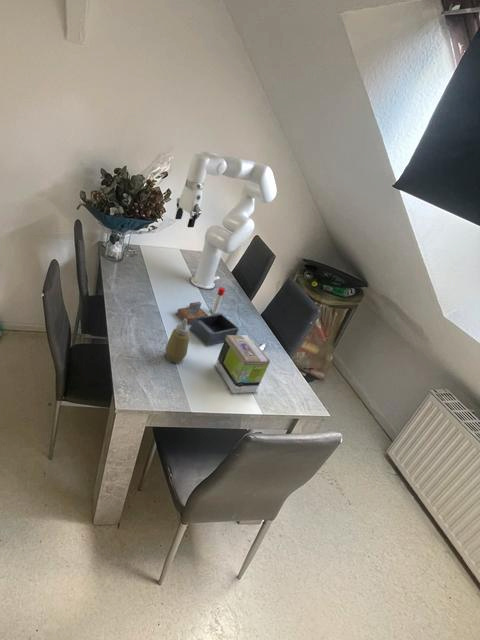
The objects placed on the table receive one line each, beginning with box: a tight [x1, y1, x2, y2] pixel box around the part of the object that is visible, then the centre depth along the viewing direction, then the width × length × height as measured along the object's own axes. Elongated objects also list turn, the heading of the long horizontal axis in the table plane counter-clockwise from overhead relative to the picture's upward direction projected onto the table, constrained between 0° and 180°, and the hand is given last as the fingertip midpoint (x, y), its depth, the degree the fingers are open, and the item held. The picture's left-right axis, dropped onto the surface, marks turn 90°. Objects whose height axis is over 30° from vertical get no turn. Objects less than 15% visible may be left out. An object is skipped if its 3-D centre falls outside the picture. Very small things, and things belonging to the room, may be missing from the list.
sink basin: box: [189, 312, 239, 347], centre depth 163 cm, size 16×12×6 cm
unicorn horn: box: [258, 343, 267, 352], centre depth 154 cm, size 5×24×5 cm, turn 139°
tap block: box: [176, 305, 209, 325], centre depth 172 cm, size 11×10×3 cm
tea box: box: [215, 334, 271, 394], centre depth 138 cm, size 15×10×15 cm, turn 12°
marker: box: [211, 286, 226, 315], centre depth 177 cm, size 3×3×13 cm
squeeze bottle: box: [165, 319, 191, 364], centre depth 141 cm, size 8×8×18 cm
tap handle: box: [188, 301, 202, 313], centre depth 170 cm, size 6×2×5 cm, turn 118°
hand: (184, 222), depth 173 cm, fingers open, 9 cm apart
